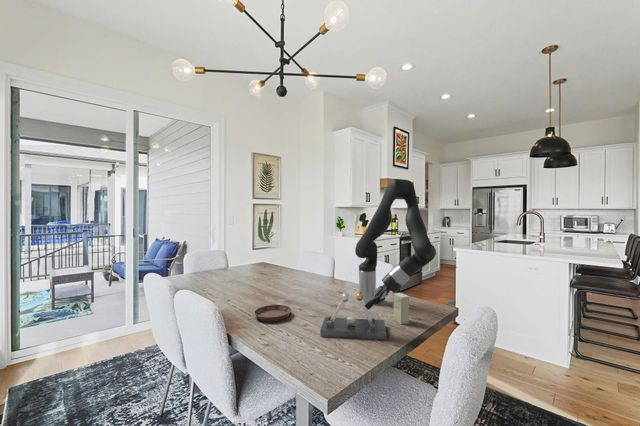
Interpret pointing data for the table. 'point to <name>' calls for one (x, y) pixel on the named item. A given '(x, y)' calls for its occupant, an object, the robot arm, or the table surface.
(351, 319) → the push button
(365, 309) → the lever handle
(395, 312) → the skincare box
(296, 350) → the table surface
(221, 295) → the table surface
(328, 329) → the switch panel
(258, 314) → the plant saucer
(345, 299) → the white lever
